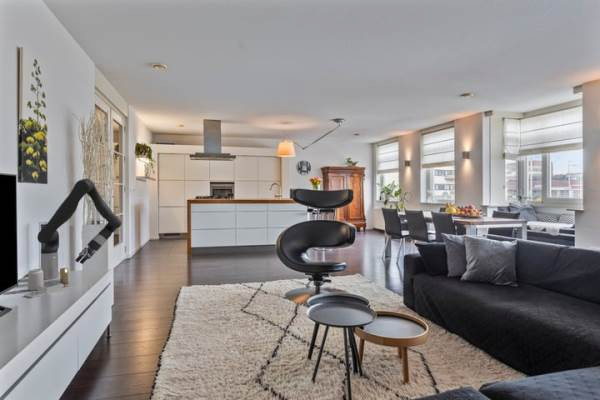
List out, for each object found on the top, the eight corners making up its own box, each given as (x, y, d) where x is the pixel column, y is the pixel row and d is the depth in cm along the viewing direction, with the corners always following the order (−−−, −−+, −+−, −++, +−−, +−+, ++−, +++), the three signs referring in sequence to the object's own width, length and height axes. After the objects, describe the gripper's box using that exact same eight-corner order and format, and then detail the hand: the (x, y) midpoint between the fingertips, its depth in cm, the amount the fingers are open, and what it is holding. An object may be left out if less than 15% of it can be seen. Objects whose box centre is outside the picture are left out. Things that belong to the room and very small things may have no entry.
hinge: (24, 296, 200) (23, 289, 200) (66, 285, 220) (66, 279, 220) (33, 298, 196) (32, 290, 196) (75, 287, 216) (74, 280, 216)
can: (45, 289, 213) (44, 269, 213) (29, 292, 208) (28, 271, 207) (42, 287, 218) (41, 267, 218) (27, 289, 213) (26, 269, 212)
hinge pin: (59, 284, 223) (58, 269, 222) (65, 283, 226) (65, 267, 226) (63, 285, 221) (62, 269, 221) (69, 283, 225) (68, 268, 224)
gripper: (88, 238, 240) (70, 257, 232) (96, 239, 231) (77, 260, 223) (97, 244, 245) (79, 264, 236) (105, 246, 235) (87, 267, 227)
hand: (78, 262), depth 230 cm, fingers open, 8 cm apart
